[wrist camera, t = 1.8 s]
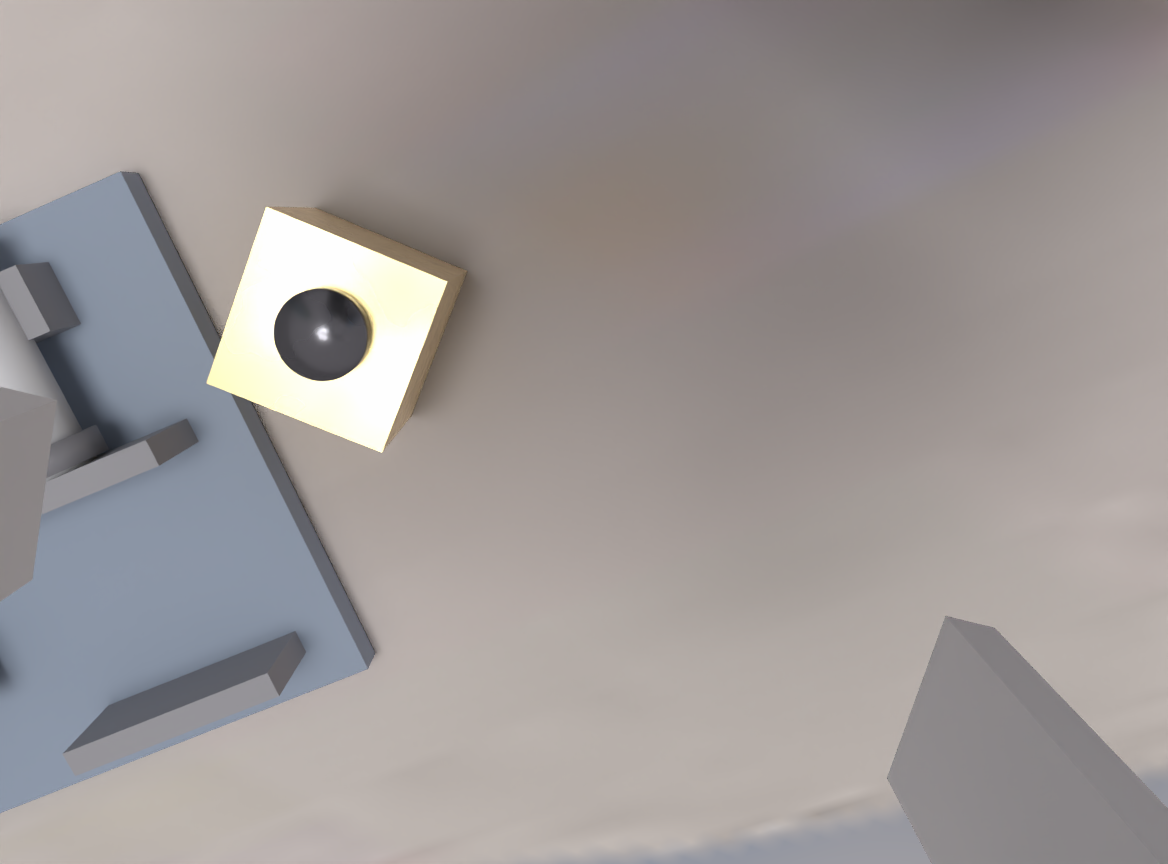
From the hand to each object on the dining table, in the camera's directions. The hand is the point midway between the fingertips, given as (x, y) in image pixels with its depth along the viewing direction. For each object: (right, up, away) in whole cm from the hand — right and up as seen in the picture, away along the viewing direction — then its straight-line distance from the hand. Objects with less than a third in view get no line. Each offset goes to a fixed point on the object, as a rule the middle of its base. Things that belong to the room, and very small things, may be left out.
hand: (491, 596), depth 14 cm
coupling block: (-6, +6, +17) cm, 19 cm away
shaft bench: (-16, 0, +18) cm, 24 cm away
